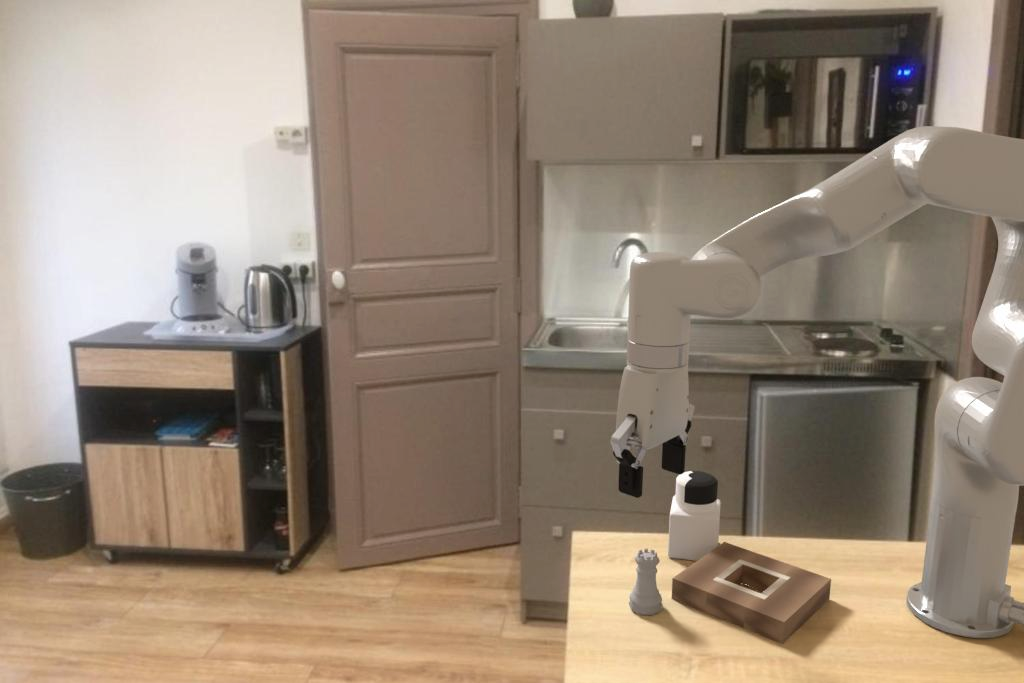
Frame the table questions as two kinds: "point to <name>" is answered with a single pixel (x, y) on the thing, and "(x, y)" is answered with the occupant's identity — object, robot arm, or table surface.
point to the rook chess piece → (646, 585)
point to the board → (764, 613)
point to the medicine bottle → (694, 516)
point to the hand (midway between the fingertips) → (652, 482)
